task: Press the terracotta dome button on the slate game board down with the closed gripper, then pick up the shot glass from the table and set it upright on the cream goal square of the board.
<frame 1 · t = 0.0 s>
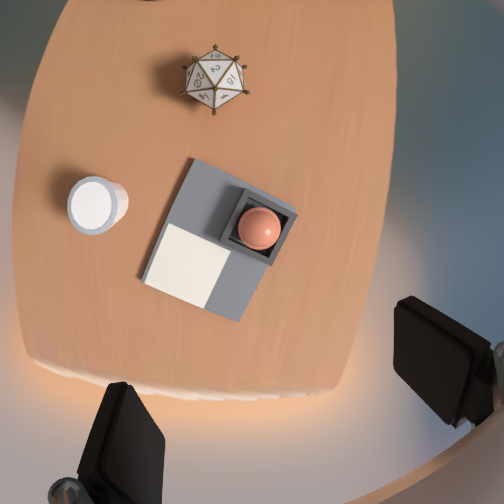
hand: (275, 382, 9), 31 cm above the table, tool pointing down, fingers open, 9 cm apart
board: (216, 243, 39), on the table
shot glass: (110, 202, 36), on the table
dome: (259, 228, 35), point 4 cm above the table, slide at 0.0 cm
game die: (213, 89, 34), on the table
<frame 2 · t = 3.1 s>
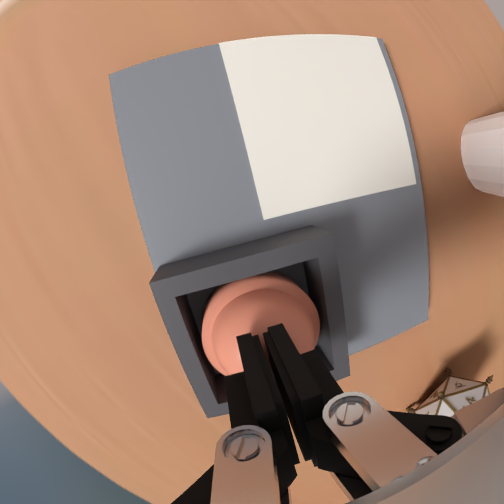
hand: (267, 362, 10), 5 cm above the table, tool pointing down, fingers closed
board: (297, 208, 14), on the table
shot glass: (479, 155, 16), on the table
dome: (262, 336, 12), point 3 cm above the table, slide at 0.9 cm, touching board, gripper
game die: (429, 393, 20), on the table
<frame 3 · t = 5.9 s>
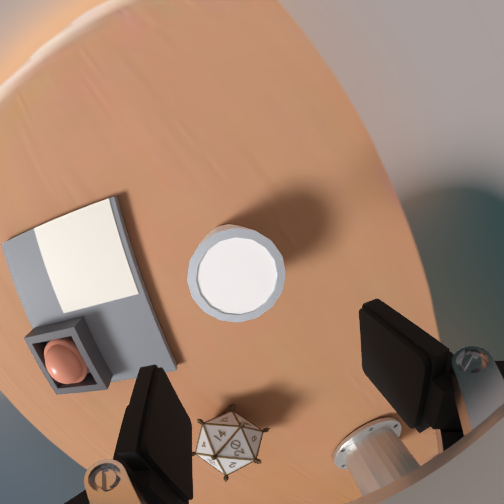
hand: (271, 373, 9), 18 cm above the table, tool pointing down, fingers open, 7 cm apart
board: (82, 305, 25), on the table
shot glass: (229, 254, 27), on the table
dome: (64, 363, 23), point 3 cm above the table, slide at 0.9 cm, touching board
game die: (226, 419, 31), on the table
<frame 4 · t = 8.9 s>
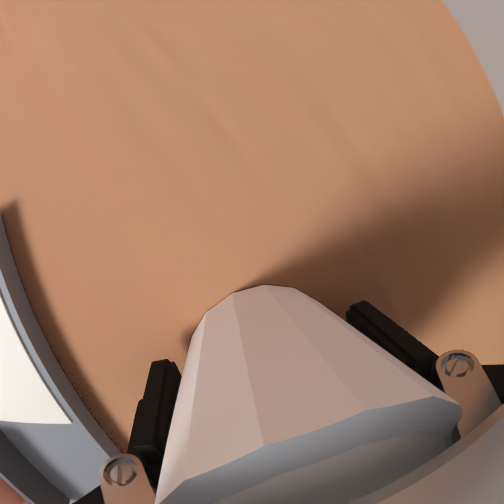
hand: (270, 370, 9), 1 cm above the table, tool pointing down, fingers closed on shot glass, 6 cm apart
shot glass: (263, 351, 11), on the table, touching gripper
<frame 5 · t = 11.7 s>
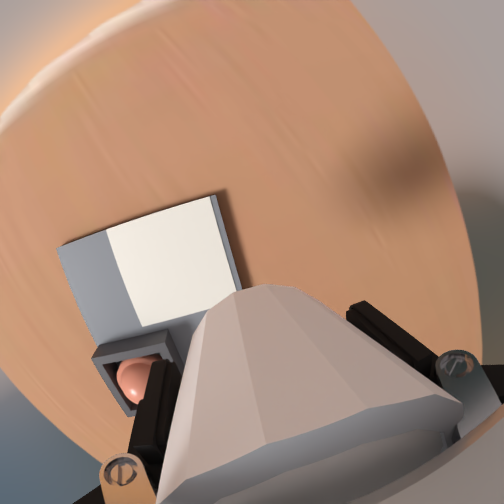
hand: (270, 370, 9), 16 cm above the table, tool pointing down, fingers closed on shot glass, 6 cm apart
board: (164, 316, 25), on the table
shot glass: (264, 350, 11), point 15 cm above the table, touching gripper
dome: (143, 382, 23), point 3 cm above the table, slide at 0.9 cm, touching board
when the fingers open (3 cm above the table, at t = 14.9 s): shot glass drops 1 cm, resting on board.
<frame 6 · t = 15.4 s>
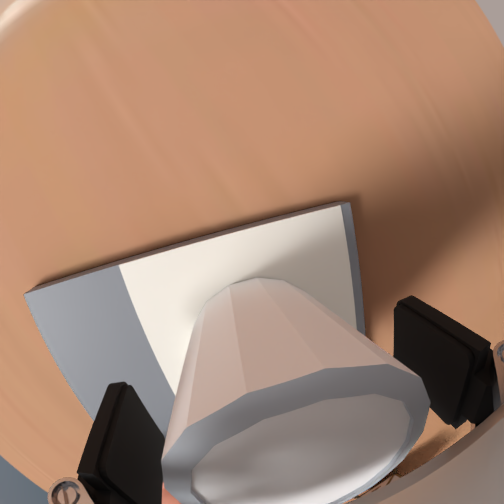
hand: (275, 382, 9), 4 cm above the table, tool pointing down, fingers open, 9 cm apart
board: (228, 406, 14), on the table
shot glass: (258, 337, 12), point 1 cm above the table, touching board
dome: (198, 498, 11), point 3 cm above the table, slide at 0.9 cm, touching board
game die: (377, 481, 20), on the table
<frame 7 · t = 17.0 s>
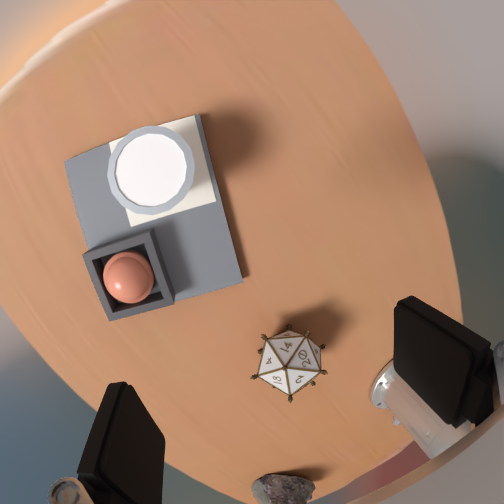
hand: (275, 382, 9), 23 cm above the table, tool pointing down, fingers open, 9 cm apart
mineral rock: (281, 481, 45), on the table
board: (150, 219, 28), on the table
shot glass: (161, 172, 26), point 1 cm above the table, touching board
dome: (127, 278, 26), point 3 cm above the table, slide at 0.9 cm, touching board
game die: (280, 343, 35), on the table
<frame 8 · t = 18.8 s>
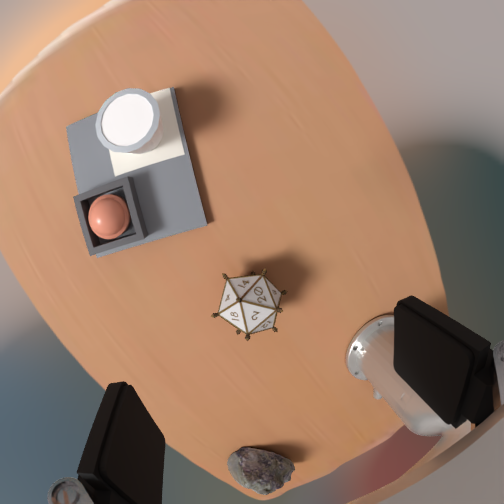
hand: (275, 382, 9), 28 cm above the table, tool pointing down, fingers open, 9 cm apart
mineral rock: (259, 457, 47), on the table
board: (131, 171, 32), on the table
shot glass: (141, 132, 31), point 1 cm above the table, touching board
dome: (107, 216, 30), point 3 cm above the table, slide at 0.9 cm, touching board
game die: (245, 291, 38), on the table
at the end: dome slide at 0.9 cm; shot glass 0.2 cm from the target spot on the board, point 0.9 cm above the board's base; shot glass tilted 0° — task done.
